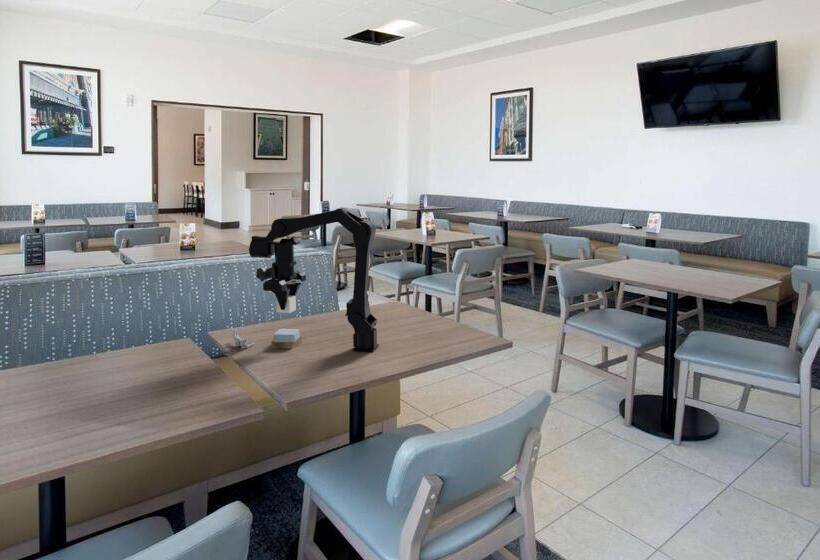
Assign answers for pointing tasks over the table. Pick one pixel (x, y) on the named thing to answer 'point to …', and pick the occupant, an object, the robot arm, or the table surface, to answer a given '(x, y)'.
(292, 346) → the tower base
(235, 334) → the soldier figure
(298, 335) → the tower mid
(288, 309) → the cube
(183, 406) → the table surface
